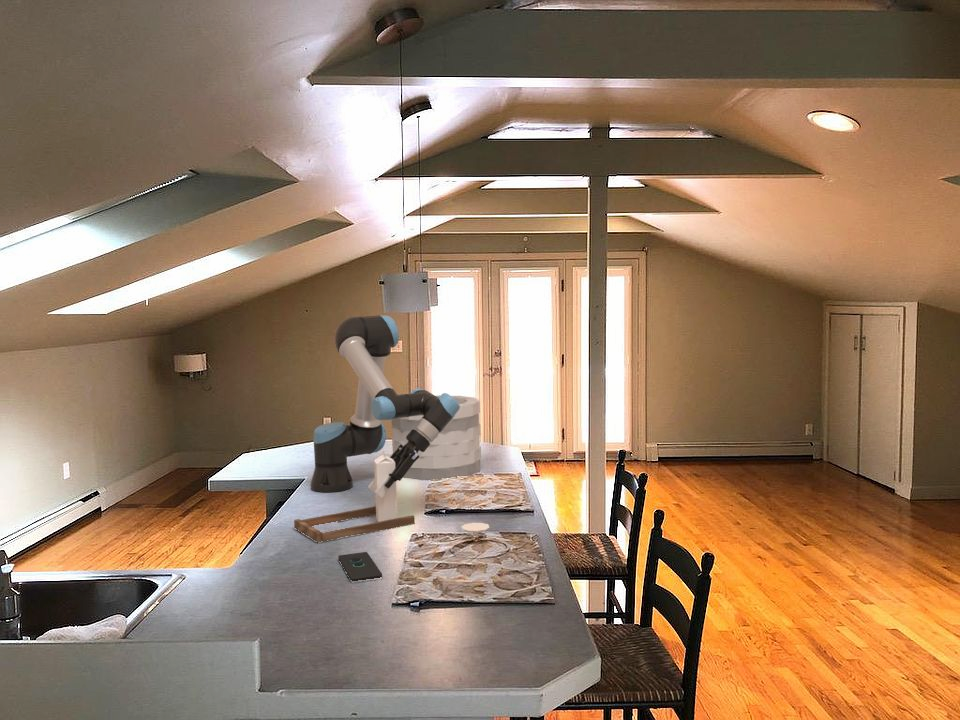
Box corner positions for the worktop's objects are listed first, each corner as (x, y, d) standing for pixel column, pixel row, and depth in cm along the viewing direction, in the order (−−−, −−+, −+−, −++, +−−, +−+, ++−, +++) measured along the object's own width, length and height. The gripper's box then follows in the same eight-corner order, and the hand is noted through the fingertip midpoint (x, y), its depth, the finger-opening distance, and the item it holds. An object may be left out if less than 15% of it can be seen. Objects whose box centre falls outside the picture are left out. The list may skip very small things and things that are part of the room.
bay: (294, 529, 261) (294, 519, 261) (387, 511, 279) (387, 502, 278) (317, 543, 246) (317, 533, 246) (414, 523, 264) (414, 514, 264)
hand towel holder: (452, 546, 228) (444, 524, 248) (452, 562, 228) (445, 539, 248) (514, 542, 230) (502, 520, 250) (515, 557, 231) (502, 535, 251)
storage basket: (482, 459, 355) (480, 394, 352) (480, 479, 320) (478, 407, 317) (398, 461, 356) (396, 396, 353) (387, 481, 321) (384, 409, 318)
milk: (394, 517, 272) (392, 448, 270) (397, 522, 266) (395, 452, 264) (375, 518, 271) (373, 450, 269) (378, 523, 265) (375, 453, 263)
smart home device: (367, 551, 234) (383, 574, 216) (367, 557, 235) (383, 581, 216) (337, 555, 232) (350, 578, 213) (337, 561, 232) (351, 585, 213)
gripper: (441, 448, 263) (392, 506, 259) (419, 438, 281) (374, 492, 277) (424, 433, 261) (375, 491, 256) (404, 423, 279) (357, 478, 274)
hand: (374, 492), depth 266 cm, fingers closed on milk, 7 cm apart
